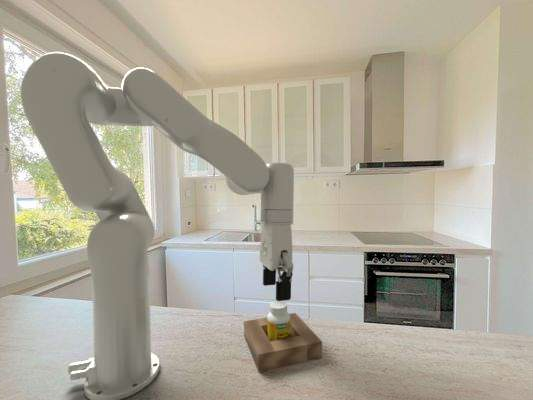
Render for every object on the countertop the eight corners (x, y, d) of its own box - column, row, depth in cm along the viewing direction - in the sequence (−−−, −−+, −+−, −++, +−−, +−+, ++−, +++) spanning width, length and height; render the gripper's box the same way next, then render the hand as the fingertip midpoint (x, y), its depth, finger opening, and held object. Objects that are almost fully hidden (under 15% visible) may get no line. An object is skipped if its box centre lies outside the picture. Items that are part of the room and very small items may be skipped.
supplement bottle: (281, 336, 61) (281, 298, 61) (295, 347, 57) (295, 305, 56) (263, 344, 58) (262, 303, 58) (276, 356, 54) (275, 312, 53)
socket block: (258, 372, 49) (258, 354, 49) (244, 335, 62) (243, 321, 62) (322, 357, 53) (322, 341, 53) (295, 326, 66) (295, 312, 66)
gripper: (252, 215, 64) (251, 281, 64) (273, 220, 48) (271, 309, 48) (279, 215, 67) (278, 279, 66) (308, 220, 50) (307, 305, 50)
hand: (275, 291), depth 57 cm, fingers open, 9 cm apart
